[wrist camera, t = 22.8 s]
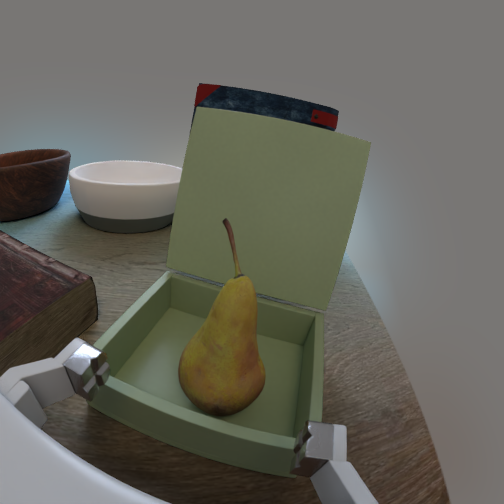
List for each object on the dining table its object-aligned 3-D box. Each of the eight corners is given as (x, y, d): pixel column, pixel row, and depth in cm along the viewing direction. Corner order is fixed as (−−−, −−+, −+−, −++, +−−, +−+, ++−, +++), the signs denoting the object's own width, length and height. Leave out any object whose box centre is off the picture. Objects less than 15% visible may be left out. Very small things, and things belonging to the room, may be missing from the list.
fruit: (164, 414, 15) (163, 246, 11) (193, 359, 21) (210, 209, 16) (247, 440, 15) (305, 283, 10) (262, 379, 20) (307, 233, 15)
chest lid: (371, 142, 20) (359, 150, 24) (196, 106, 21) (212, 118, 26) (326, 310, 23) (322, 292, 28) (165, 266, 25) (185, 255, 29)
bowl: (206, 212, 56) (212, 172, 53) (145, 254, 36) (148, 193, 32) (118, 192, 59) (121, 157, 56) (45, 220, 39) (44, 173, 35)
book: (307, 230, 58) (335, 113, 48) (311, 243, 52) (344, 110, 42) (186, 207, 57) (205, 88, 47) (177, 217, 51) (197, 82, 41)
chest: (295, 478, 13) (320, 453, 11) (87, 404, 15) (72, 366, 13) (309, 348, 25) (324, 313, 24) (166, 307, 27) (167, 270, 25)
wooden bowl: (19, 236, 32) (15, 171, 28) (-49, 220, 30) (-54, 171, 25) (89, 194, 55) (91, 149, 51) (17, 187, 52) (17, 149, 48)
